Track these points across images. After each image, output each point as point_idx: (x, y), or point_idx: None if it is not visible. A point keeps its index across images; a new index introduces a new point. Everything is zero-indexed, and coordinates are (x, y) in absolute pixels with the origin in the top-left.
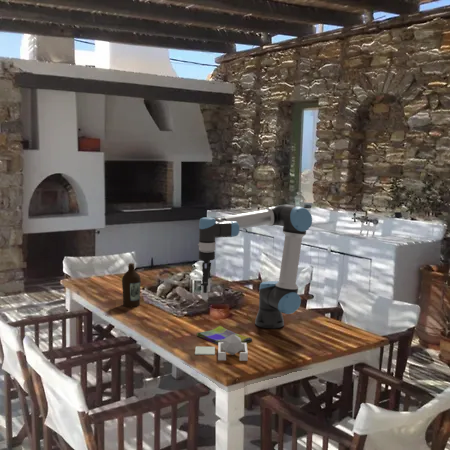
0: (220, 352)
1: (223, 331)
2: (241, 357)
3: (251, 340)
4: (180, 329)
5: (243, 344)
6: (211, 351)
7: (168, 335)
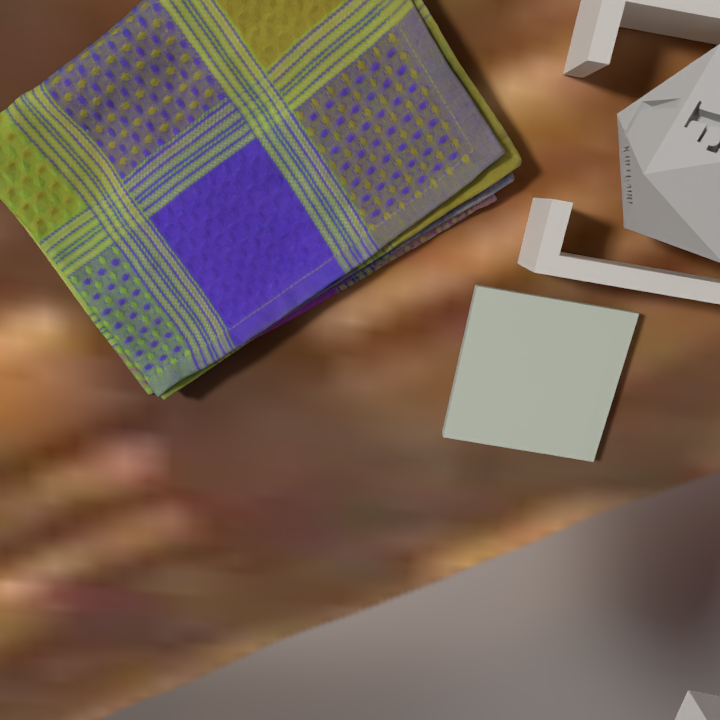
0: None
1: (72, 138)
2: None
3: None
4: (8, 496)
5: (618, 14)
6: (580, 332)
7: (152, 589)
